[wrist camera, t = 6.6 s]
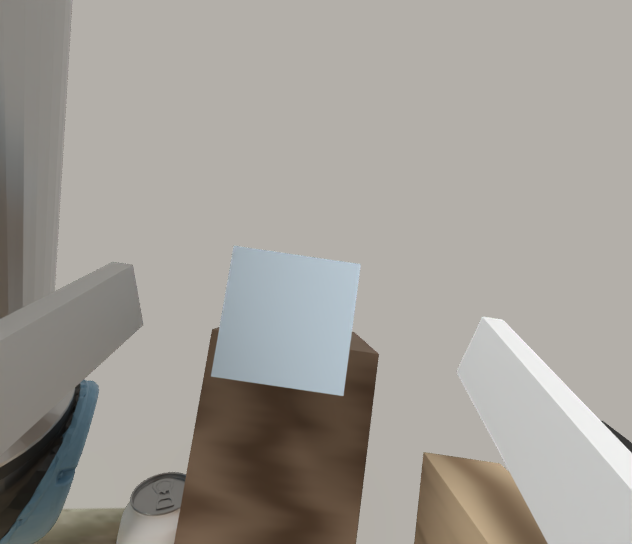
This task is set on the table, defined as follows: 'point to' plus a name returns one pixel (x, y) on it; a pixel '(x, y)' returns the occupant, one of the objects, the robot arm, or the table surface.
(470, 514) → the oak step
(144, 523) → the can
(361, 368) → the walnut block
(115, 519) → the table surface
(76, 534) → the table surface
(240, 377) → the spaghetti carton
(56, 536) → the table surface
